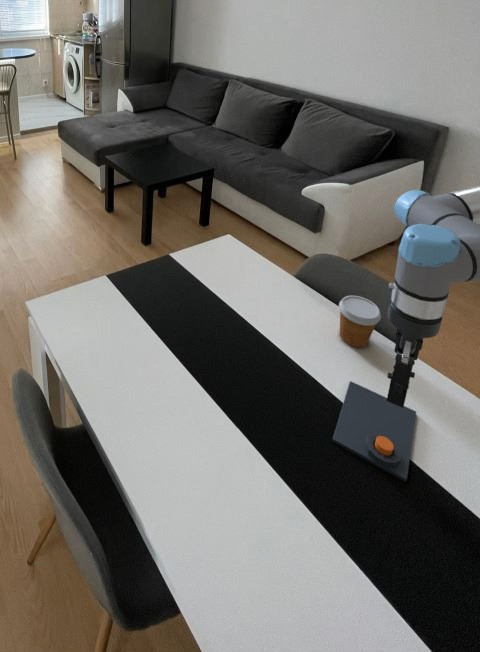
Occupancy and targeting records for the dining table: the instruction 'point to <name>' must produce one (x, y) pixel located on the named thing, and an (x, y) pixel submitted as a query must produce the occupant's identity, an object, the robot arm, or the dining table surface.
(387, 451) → the button
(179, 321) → the dining table surface
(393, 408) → the scale
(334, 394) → the dining table surface
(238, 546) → the dining table surface
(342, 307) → the disposable coffee cup
